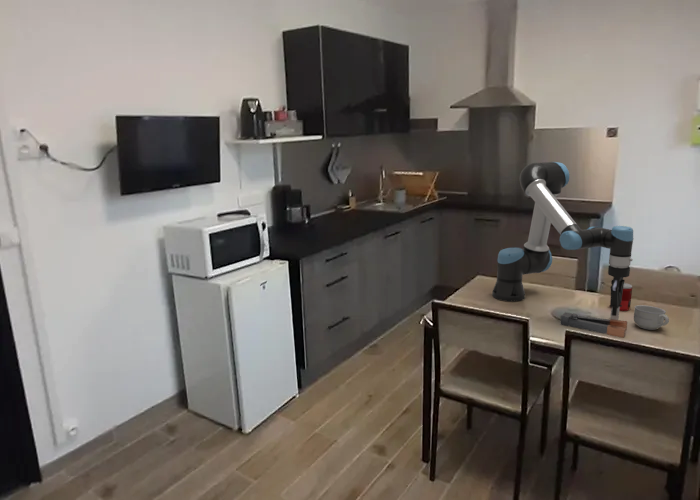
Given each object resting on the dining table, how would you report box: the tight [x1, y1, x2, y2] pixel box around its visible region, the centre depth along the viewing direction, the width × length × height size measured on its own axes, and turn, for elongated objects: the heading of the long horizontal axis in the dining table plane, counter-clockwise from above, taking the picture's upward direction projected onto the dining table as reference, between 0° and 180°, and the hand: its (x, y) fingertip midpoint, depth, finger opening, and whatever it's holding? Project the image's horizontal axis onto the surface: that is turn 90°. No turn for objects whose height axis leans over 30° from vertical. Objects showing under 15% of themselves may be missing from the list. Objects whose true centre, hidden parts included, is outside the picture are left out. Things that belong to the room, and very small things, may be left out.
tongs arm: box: [571, 313, 628, 330], centre depth 204 cm, size 20×4×4 cm, turn 66°
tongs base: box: [559, 311, 627, 338], centre depth 202 cm, size 24×6×4 cm, turn 50°
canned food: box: [609, 282, 633, 312], centre depth 225 cm, size 8×8×11 cm
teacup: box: [633, 304, 670, 331], centre depth 201 cm, size 14×11×8 cm
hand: (614, 322), depth 204 cm, fingers closed
